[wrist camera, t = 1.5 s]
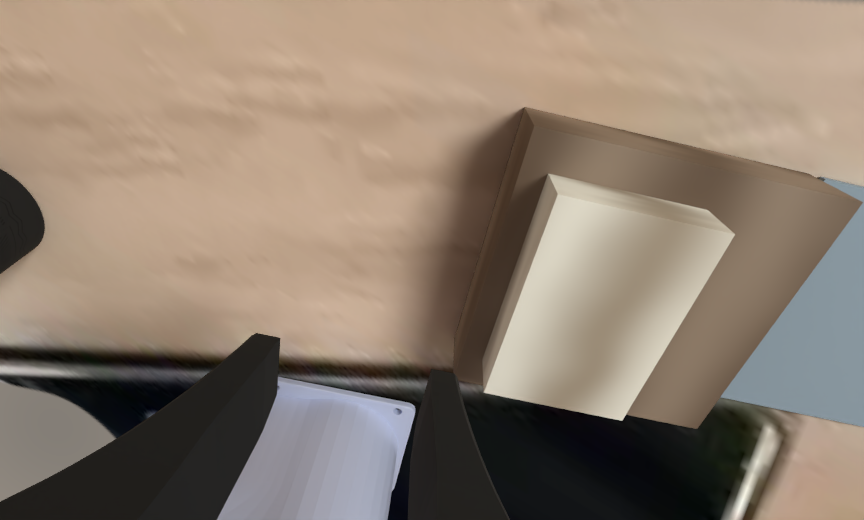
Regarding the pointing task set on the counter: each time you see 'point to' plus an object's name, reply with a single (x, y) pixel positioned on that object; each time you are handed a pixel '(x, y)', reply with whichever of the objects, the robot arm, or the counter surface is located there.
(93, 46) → the counter surface
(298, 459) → the robot arm
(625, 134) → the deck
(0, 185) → the drinking cup
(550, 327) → the tile
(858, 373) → the mat
